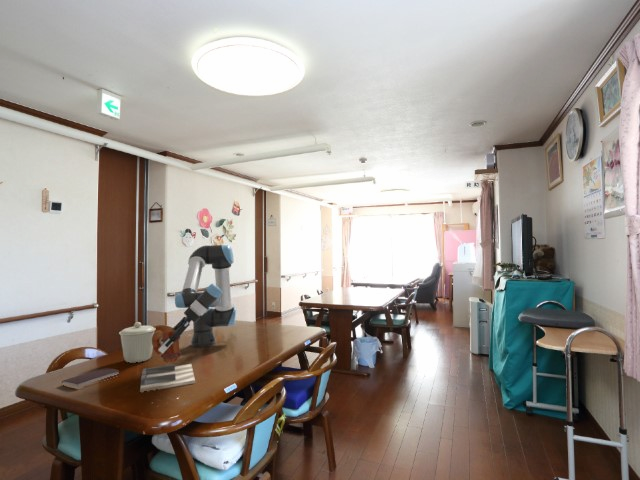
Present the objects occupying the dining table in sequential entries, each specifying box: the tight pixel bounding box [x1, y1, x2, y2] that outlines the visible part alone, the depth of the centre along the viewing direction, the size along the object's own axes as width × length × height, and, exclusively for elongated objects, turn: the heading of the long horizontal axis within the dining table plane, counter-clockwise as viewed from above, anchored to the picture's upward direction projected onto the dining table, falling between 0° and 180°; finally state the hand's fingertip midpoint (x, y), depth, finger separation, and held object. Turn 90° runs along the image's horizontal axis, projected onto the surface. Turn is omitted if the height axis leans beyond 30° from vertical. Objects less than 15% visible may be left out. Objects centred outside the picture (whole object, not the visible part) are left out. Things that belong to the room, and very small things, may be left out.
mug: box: [152, 329, 182, 364], centre depth 164 cm, size 15×8×15 cm, turn 73°
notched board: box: [139, 363, 196, 393], centre depth 164 cm, size 26×22×4 cm
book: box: [61, 367, 120, 387], centre depth 164 cm, size 12×19×3 cm, turn 153°
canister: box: [118, 321, 157, 364], centre depth 193 cm, size 18×18×21 cm
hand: (160, 348), depth 162 cm, fingers closed on mug, 10 cm apart
